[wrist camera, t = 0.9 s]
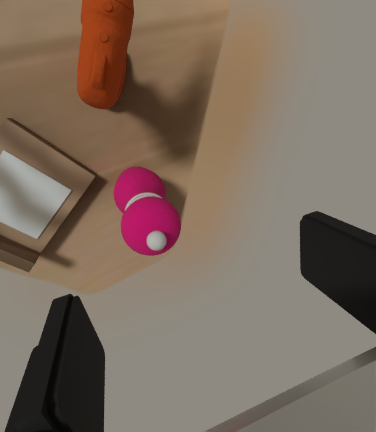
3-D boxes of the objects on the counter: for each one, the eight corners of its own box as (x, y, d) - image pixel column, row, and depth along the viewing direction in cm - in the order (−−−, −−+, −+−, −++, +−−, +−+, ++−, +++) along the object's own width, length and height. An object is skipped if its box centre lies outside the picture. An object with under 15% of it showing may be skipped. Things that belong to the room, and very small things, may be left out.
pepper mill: (151, 212, 41) (181, 285, 24) (107, 200, 39) (104, 273, 21) (166, 171, 40) (210, 218, 22) (121, 156, 37) (129, 194, 19)
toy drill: (149, -66, 28) (176, -187, 15) (119, 109, 35) (120, 127, 23) (104, -92, 26) (90, -253, 13) (82, 98, 34) (61, 111, 21)
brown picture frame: (11, 118, 31) (-5, 118, 27) (96, 173, 37) (93, 181, 32) (-51, 215, 34) (-75, 230, 29) (37, 255, 39) (28, 272, 34)
